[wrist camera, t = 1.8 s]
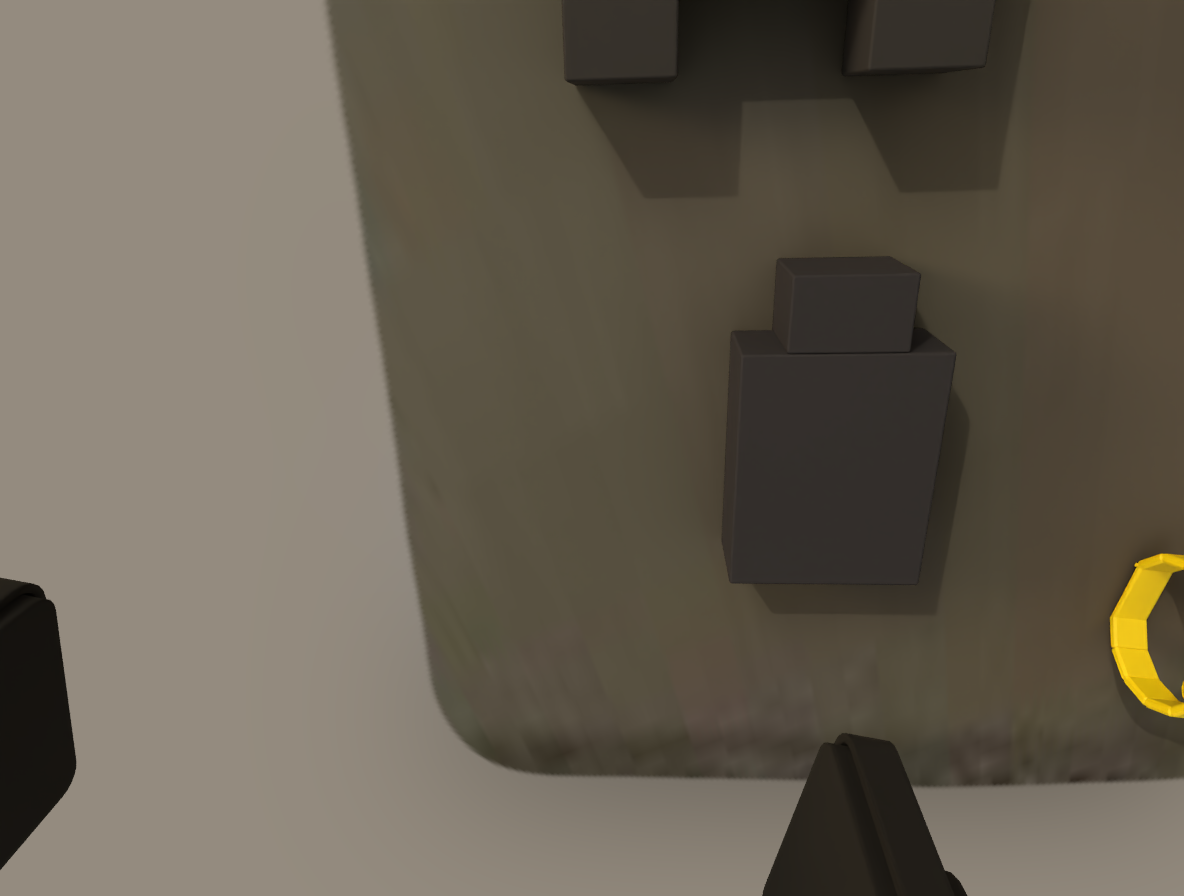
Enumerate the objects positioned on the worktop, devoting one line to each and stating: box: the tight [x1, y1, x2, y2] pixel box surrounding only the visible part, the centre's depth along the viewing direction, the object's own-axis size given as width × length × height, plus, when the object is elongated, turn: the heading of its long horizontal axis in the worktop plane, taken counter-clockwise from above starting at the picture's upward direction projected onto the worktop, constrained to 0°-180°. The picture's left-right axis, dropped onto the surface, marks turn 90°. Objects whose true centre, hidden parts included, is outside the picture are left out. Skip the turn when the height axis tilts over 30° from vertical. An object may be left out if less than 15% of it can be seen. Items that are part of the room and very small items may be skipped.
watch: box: [1110, 554, 1184, 718], centre depth 29 cm, size 6×3×6 cm, turn 175°
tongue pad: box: [722, 256, 956, 585], centre depth 28 cm, size 7×12×3 cm, turn 1°
